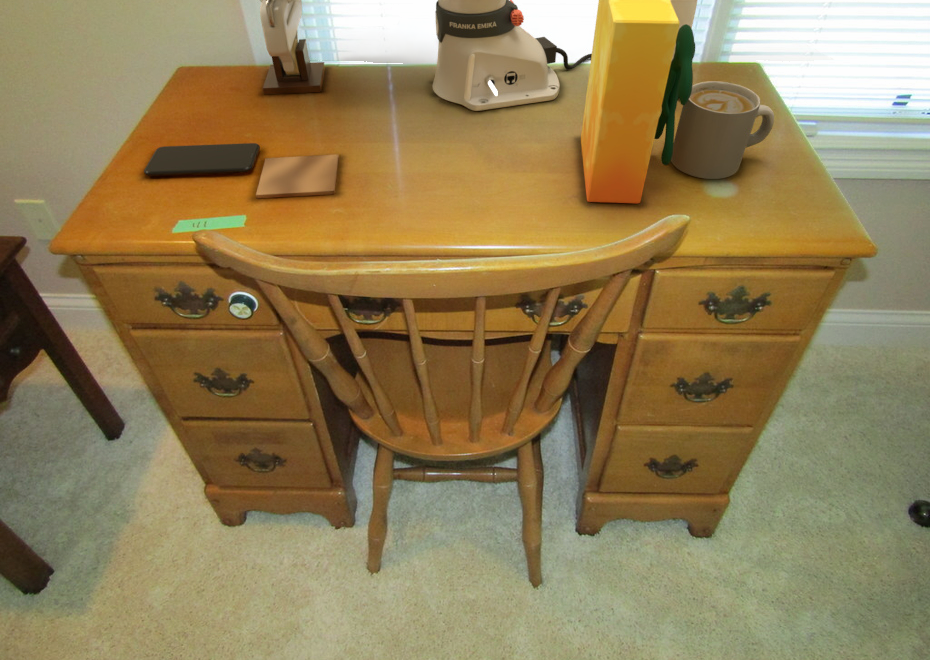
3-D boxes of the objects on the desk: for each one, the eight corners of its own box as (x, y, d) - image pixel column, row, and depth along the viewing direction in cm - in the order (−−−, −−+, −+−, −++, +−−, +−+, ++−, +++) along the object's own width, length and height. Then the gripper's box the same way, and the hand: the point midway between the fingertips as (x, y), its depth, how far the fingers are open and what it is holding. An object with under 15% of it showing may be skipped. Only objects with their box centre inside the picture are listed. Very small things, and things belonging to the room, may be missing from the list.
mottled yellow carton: (677, 205, 87) (727, 22, 70) (586, 202, 87) (614, 20, 70) (660, 141, 99) (699, -28, 82) (580, 139, 100) (602, -29, 82)
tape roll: (304, 66, 117) (297, 33, 113) (300, 80, 113) (293, 46, 109) (290, 67, 117) (283, 33, 113) (286, 81, 113) (278, 47, 108)
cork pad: (339, 157, 97) (338, 154, 96) (334, 194, 90) (334, 190, 89) (266, 161, 96) (265, 157, 96) (256, 198, 89) (255, 195, 89)
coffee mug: (674, 177, 92) (691, 112, 84) (666, 143, 98) (681, 80, 91) (770, 181, 90) (795, 116, 83) (754, 146, 97) (776, 83, 90)
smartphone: (143, 178, 93) (252, 174, 93) (140, 173, 92) (250, 168, 93) (159, 150, 99) (262, 147, 99) (157, 145, 98) (260, 141, 98)
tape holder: (325, 68, 120) (319, 33, 115) (321, 91, 113) (314, 55, 108) (271, 70, 119) (263, 35, 114) (264, 94, 112) (255, 58, 107)
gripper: (286, -3, 96) (304, 85, 106) (300, -43, 111) (314, 38, 120) (244, -1, 96) (266, 87, 106) (263, -42, 110) (281, 40, 120)
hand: (292, 61), depth 113 cm, fingers closed on tape roll, 6 cm apart
